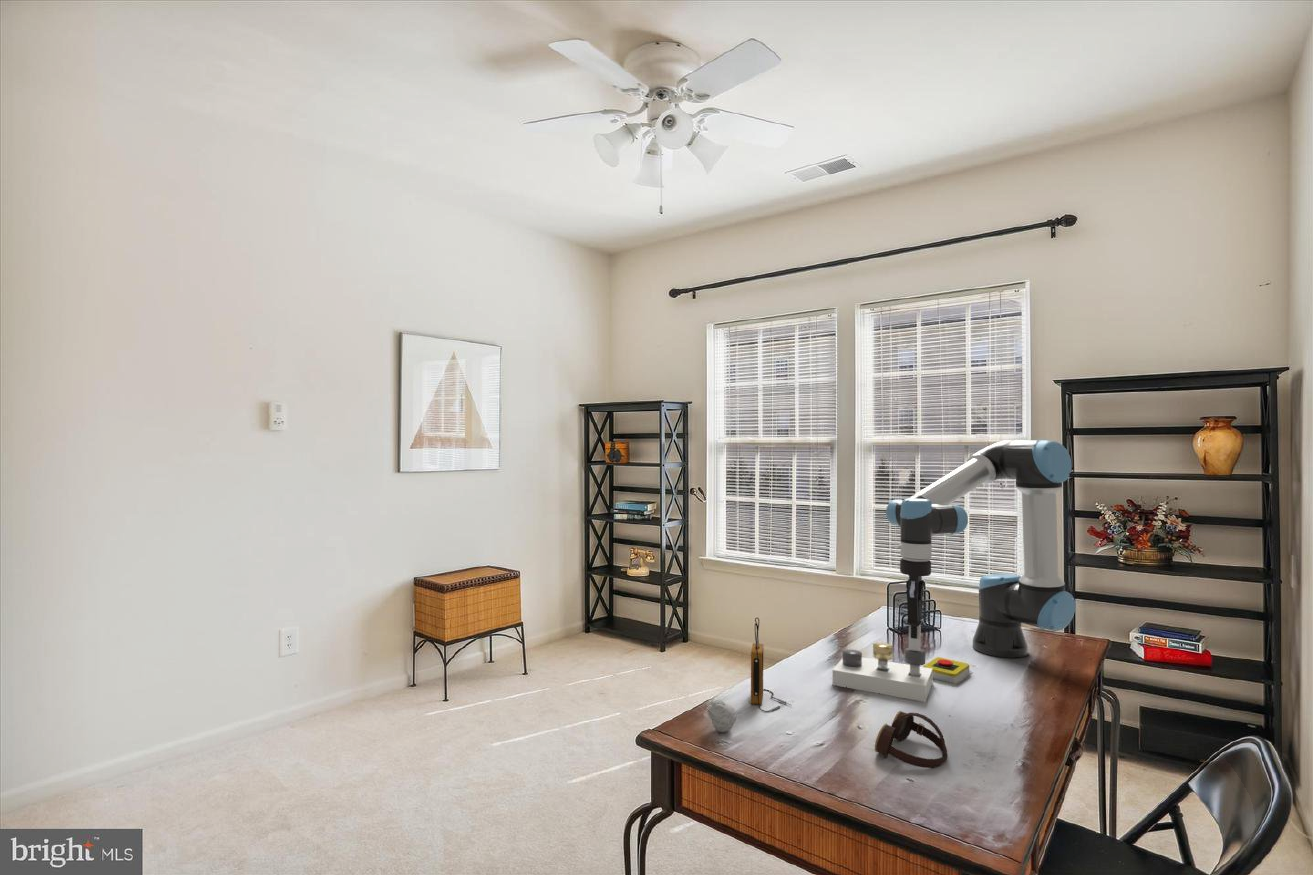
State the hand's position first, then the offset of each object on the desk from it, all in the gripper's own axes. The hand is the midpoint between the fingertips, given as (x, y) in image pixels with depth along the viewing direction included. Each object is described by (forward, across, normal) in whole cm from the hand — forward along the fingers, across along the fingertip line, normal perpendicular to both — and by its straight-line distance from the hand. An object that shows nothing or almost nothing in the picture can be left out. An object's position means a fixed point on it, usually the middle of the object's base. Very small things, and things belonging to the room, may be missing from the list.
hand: (914, 649), depth 177 cm
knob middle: (+8, 0, -8) cm, 11 cm away
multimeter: (+11, +25, -30) cm, 40 cm away
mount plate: (+11, 0, -8) cm, 13 cm away
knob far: (+11, 0, -16) cm, 19 cm away
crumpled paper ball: (+11, +47, -34) cm, 59 cm away
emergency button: (+11, -16, +6) cm, 21 cm away
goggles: (+11, +37, +5) cm, 39 cm away
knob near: (+8, 0, 0) cm, 8 cm away
